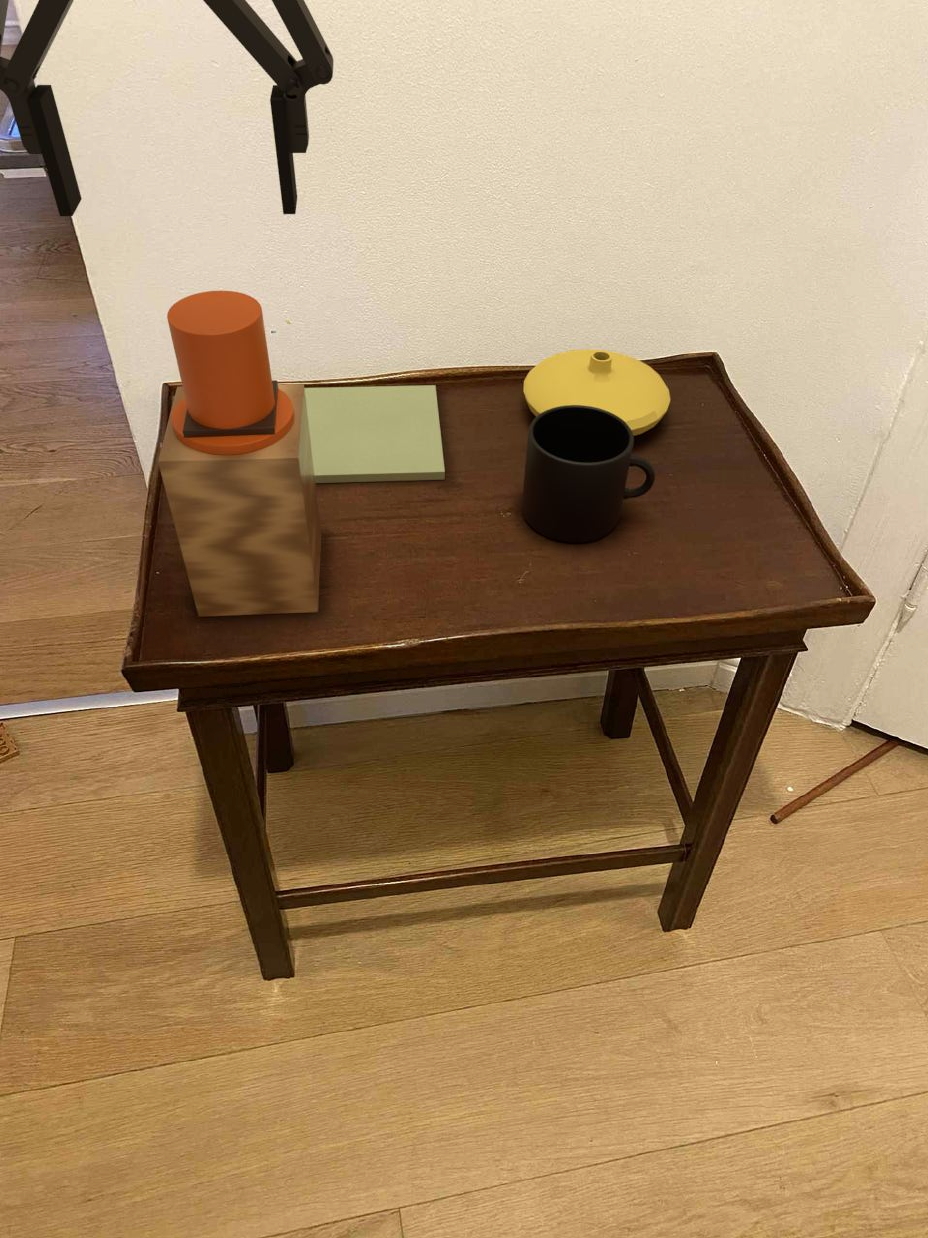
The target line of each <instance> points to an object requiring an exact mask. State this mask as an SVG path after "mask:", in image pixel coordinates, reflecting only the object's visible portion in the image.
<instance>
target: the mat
mask: <svg viewBox="0 0 928 1238" xmlns="http://www.w3.org/2000/svg"><path fill="white" fill-rule="evenodd" d="M304 388H305V397H306V406H307V414H308V423H309V432H310V441H311V450H312V458H313V467H314V476H315V484H336V483H371V482H372V483H373V482H405V481H406V482H407V481H409V482H410V481H441V480H443V481H444V480H445V479H446V468H445V459H444V450H443V441H442V432H441V424H440V423H441V422H440V414H439V405H438V404H439V403H438V396H437V386H436V384H430V385H429V384H428V385H427V384H426V385H425V384H424V385H384V386H383V385H382V386H381V385H380V386H378V385H377V386H375V385H374V386H336V387H335V386H334V387H329V386H327V387H304Z"/></svg>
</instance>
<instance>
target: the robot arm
mask: <svg viewBox="0 0 928 1238" xmlns="http://www.w3.org/2000/svg"><path fill="white" fill-rule="evenodd" d="M9 1H10V0H0V91H1V92H3V93H4V95H5V96H6V97H7V99H8V101H9V105H10V107H11V111H12V114H13V118H14V121H15V124H16V127H17V130H18V133H19V137H20V141H21V143H22V147H23V148H24V149H25V151H26V152H27V154H28V155H41V156H42V159H43V162H44V166H45V169H46V173H47V177H48V179H49V184H50V187H51V190H52V194H53V197H54V200H55V201H54V202H55V204H56V207H57V211H58V214H59V217H73V216H74V214H75V213H76V211H77V208H78V207H79V205H80V203H81V201H82V200H83V199H82V195H81V191H80V187H79V184H78V179H77V176H76V172H75V169H74V166H73V162H72V158H71V157H72V156H71V154H70V150H69V147H68V143H67V139H66V135H65V132H64V128H63V124H62V121H61V117H60V113H59V109H58V106H57V102H56V98H55V95H54V91H53V87H52V85H51V84H37V85H35V80H36V78H37V77H38V76H37V75H38V73H39V71H40V69H41V67H42V65H43V63H44V61H45V59H46V57H47V55H48V53H49V51H50V49H51V47H52V45H53V43H54V42H55V38H56V37H57V35H58V32H59V31H60V29H61V27H62V25H63V23H64V21H65V19H66V17H67V14H68V13H69V11H70V9H71V7H72V5H73V3H74V1H75V0H38V1H37V4H36V6H35V8H34V10H33V12H32V14H31V16H30V18H29V20H28V22H27V24H26V27H25V29H24V31H23V33H22V35H21V37H20V39H19V40H18V43H17V45H16V47H15V49H14V51H13V54H12V55H11V58H10V59H9V58H6V57H4V56H1V55H2V54H1V53H2V47H3V43H4V41H3V40H4V35H5V29H6V28H5V27H6V21H7V14H8V9H9V8H8V7H9V4H10V3H9ZM202 1H203V2H204V4H206V6H207V7H208V8H209V9H210V10H211V11H212V13H213V14H214V15H215V16H216V17H217V18H218V19H219V20H220V22H222V24H223V25H224V26H225V28H227V29H228V31H229V32H230V33H231V34H232V36H234V38H235V39H236V40H237V41H238V42H239V43H240V44H241V46H243V48H244V49H245V50H246V51H247V53H248V54H249V55H250V56H251V57H252V58H253V59H254V60H255V61H256V63H257V64H258V65H259V66H260V67H261V68H262V69H263V71H264V72H265V73H266V74H267V75H268V76H269V78H270V79H271V80H272V81H273V82H274V83H275V84H272V87H271V92H270V98H269V103H270V111H271V120H272V128H273V139H274V145H275V153H276V163H277V171H278V172H277V173H278V180H279V189H280V198H281V205H282V214H283V215H296V213H297V212H296V211H297V205H298V204H297V203H298V190H297V180H296V170H295V162H294V161H295V160H294V154H306V153H307V150H308V147H309V141H310V130H309V119H308V118H309V117H308V109H307V108H308V107H307V97H306V95H307V92H308V91H309V90H310V89H312V88H314V87H317V86H319V85H323V86H324V85H327V84H329V83H330V82H331V81H332V79H333V76H334V56H333V54H332V52H331V51H330V49H329V46H328V44H327V43H326V40H325V38H324V36H323V35H322V32H321V31H320V29H319V26H318V25H317V23H316V21H315V19H314V17H313V15H312V13H311V11H310V9H309V7H308V4H307V3H306V1H305V0H271V1H272V4H273V5H274V7H275V9H276V11H277V13H278V15H279V17H280V18H281V20H282V22H283V24H284V26H285V28H286V30H287V32H288V34H289V35H290V38H291V39H292V42H293V43H294V45H295V47H296V48H297V50H298V52H299V54H300V56H301V59H299V60H297V59H296V58H295V57H294V56H293V54H291V52H290V50H288V49H287V48H286V46H285V45H284V44H283V43H282V42H281V41H280V39H279V38H278V37H277V36H276V35H275V33H274V32H273V31H272V30H271V28H270V27H269V26H268V25H267V24H266V23H265V21H264V20H263V19H262V18H261V17H260V16H259V13H257V12H256V11H255V9H254V8H253V7H252V6H251V5H250V4H249V3H248V1H247V0H202Z"/></svg>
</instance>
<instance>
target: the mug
mask: <svg viewBox="0 0 928 1238" xmlns="http://www.w3.org/2000/svg"><path fill="white" fill-rule="evenodd" d="M527 431H528V432H527V443H526V453H525V464H524V475H523V486H522V496H521V497H522V499H521V511H522V515H523V516H524V519H525V521H526V522H527V523H528V525H529V526H530V527H531V528H532V529H533V530H534V531H536V532H537V533H539V534H541V535H542V536H545V537H547V538H549V539H551V540H555V541H559V542H564V543H587V542H592V541H596V540H599V539H601V538H603V537H605V536H607V535H608V534H610V533H611V532H612V531H613V529H614V528H615V527H616V526H617V525H618V523H619V520H620V517H621V513H622V512H621V511H622V506H623V501H624V500H628V499H635V498H638V497H641V496H644V495H645V494H647V493H648V492H649V491H650V490H651V489H652V488H653V486H654V484H655V480H656V471H655V468H654V466H653V464H652V463H651V462H650V461H649V460H647V459H646V458H644V457H641V456H637V455H635V454H633V448H634V441H635V437H634V436H633V433H632V431H631V429H630V427H629V426H628V425H627V424H626V423H625V422H624V421H623V420H622V419H621V418H619V417H618V416H616V415H614V414H613V413H610V412H608V411H605V410H603V409H599V408H595V407H591V406H583V405H566V406H560V407H555V408H552V409H549V410H546V411H544V412H542V413H541V414H539V415H538V416H537V417H536V416H535V417H534V419H533V420H531V422H530V425H529V427H528V430H527ZM630 467H632V468H633V467H636V468H639V469H641V470H642V471H643V472H644V474H645V480H644V482H643V483H642V484H641V485H640V486H637V487H635V488H628V487H626V485H627V481H628V475H629V469H630Z"/></svg>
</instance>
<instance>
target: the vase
mask: <svg viewBox="0 0 928 1238" xmlns="http://www.w3.org/2000/svg"><path fill="white" fill-rule="evenodd" d="M522 391H523V395H524V398H525V402H526V404H527V406H528V409H529V411H530V412H531V413H532V414H533V415H534V416H535V418H536V417H537V416H538V415H539V414H541V413H542V412H544V411H546V410H549V409H552V408H555V407H560V406H566V405H583V406H591V407H595V408H599V409H603V410H605V411H608V412H610V413H613V414H614V415H616V416H618V417H619V418H621V419H622V420H623V421H624V422H625V423H626V424H627V425H628V426H629V427H630V429H631V431H632V433H633V437H634V436H638V435H642V434H644V433H645V432H648V431H649V430H651V429H653V428H655V426H657V424H658V423H659V422H660V421H661V420H662V419H663V417H664V416H665V414H666V413H667V412H668V408H669V406H670V403H671V395H670V389H669V388H668V386H667V384H666V383H665V382H664V380H663V378H662V377H661V375H660V374H659V373H658V372H657V371H655V370H654V369H653V368H652V366H650V365H648V364H646V363H645V362H643V361H641V360H639V359H637V358H635V357H632V356H629V355H625V354H623V353H621V352H615V351H609V350H603V349H587V348H586V349H585V348H584V349H574V350H568V351H563V352H559V353H555V354H552V355H551V356H548V357H546V358H543V360H541V361H540V362H539V363H537V364H536V365H535V366H534V367H533V368H532V369H531V370H529V372H528V373H527V375H526V377H525V378H524V380H523V390H522Z"/></svg>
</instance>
